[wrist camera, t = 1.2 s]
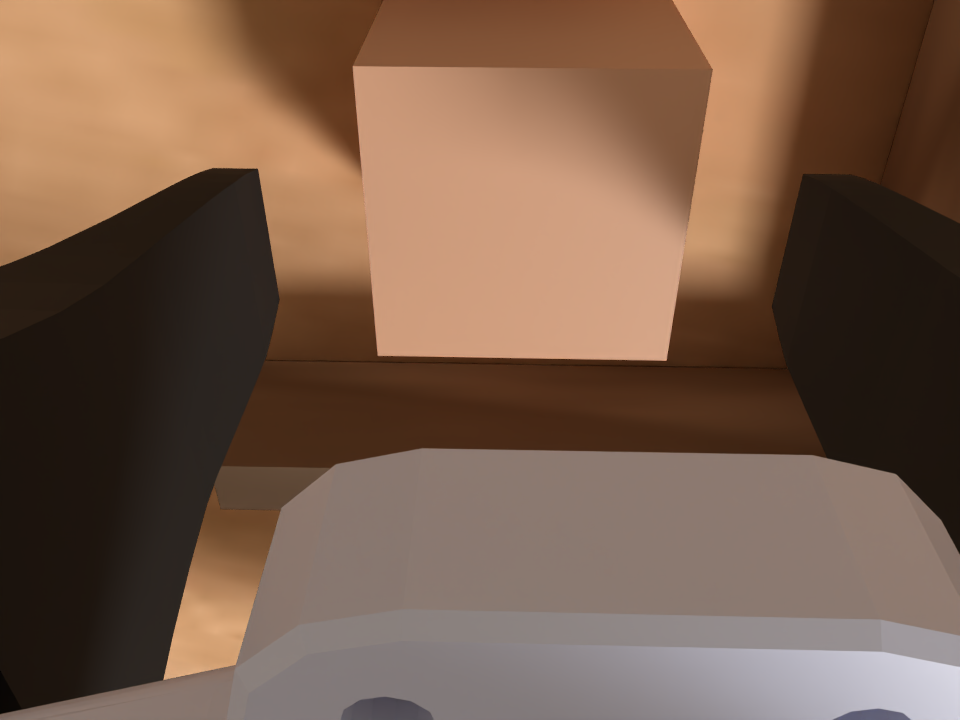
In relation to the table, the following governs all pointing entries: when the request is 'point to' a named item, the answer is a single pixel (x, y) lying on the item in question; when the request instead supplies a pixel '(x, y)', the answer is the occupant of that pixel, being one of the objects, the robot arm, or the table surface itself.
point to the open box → (571, 366)
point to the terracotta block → (528, 175)
